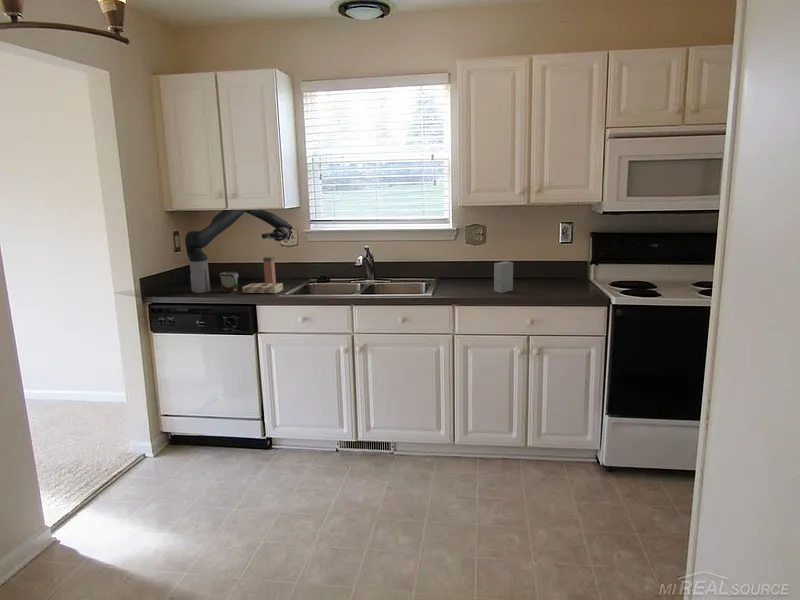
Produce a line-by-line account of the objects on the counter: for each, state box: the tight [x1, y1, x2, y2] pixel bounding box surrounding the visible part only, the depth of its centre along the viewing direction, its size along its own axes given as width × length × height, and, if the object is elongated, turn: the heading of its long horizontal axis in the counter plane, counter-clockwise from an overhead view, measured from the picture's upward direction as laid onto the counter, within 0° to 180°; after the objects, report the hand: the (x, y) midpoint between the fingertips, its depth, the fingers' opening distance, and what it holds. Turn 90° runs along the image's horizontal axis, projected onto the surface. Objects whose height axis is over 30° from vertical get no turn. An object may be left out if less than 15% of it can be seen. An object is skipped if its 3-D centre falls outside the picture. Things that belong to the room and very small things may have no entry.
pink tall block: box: [262, 256, 277, 283], centre depth 315 cm, size 4×4×17 cm
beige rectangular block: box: [242, 282, 284, 294], centre depth 304 cm, size 18×12×4 cm, turn 81°
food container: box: [219, 271, 239, 293], centre depth 309 cm, size 12×6×10 cm, turn 56°
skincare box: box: [493, 260, 514, 294], centre depth 285 cm, size 8×6×15 cm
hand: (270, 236), depth 315 cm, fingers open, 8 cm apart
